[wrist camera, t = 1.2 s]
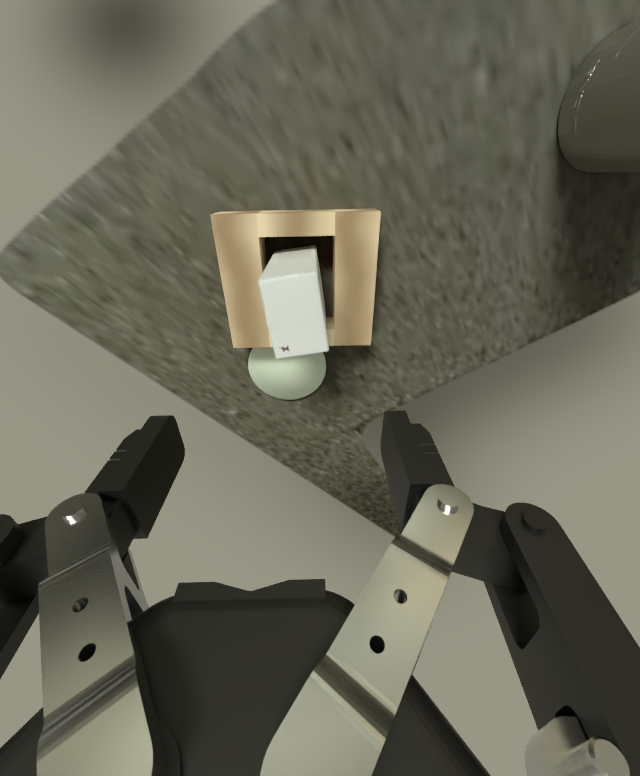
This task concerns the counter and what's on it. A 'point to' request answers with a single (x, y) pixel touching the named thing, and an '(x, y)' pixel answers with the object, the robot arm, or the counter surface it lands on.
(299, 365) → the coaster
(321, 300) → the skincare box
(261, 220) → the pocket block
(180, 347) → the counter surface
